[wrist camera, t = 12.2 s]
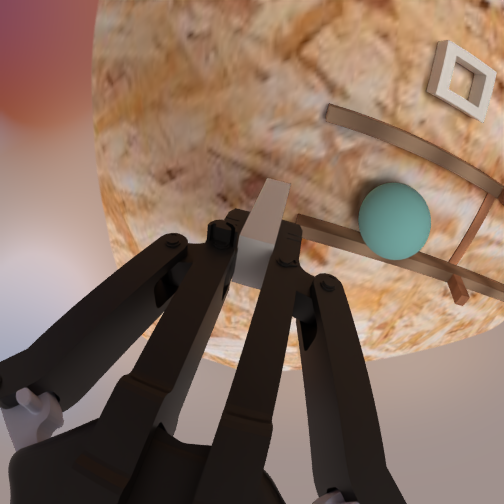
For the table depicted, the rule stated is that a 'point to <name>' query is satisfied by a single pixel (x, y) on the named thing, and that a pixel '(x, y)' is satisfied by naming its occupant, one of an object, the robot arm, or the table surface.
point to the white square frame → (443, 74)
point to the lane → (418, 262)
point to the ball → (394, 221)
